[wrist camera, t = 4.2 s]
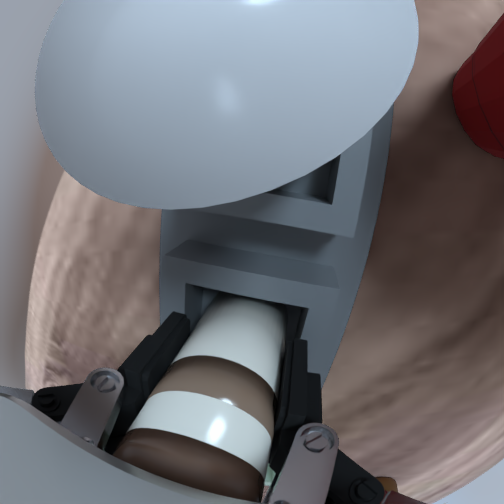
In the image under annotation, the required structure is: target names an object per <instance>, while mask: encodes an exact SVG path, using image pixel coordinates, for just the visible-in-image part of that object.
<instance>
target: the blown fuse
mask: <svg viewBox="0 0 504 504" xmlns="http://www.w3.org/2000/svg"><path fill="white" fill-rule="evenodd" d="M287 324H288V314H287V310H286V307H285V305H284V303H278V302H273V301H268V300H263V299H258V298H253V297H248V296H243V295H238V294H233V293H229V292H224V291H219V292H218V293H217V295H216V296H215V298H214V299H213V301H212V302H211V304H210V305H209V307H208V308H207V310H206V311H205V313H204V314H203V316H202V317H201V319H200V320H199V322H198V323H197V325H196V326H195V328H194V330H193V331H192V333H191V334H190V336H189V337H188V339H187V340H186V342H185V343H184V345H183V346H182V348H181V349H180V351H179V352H178V354H177V356H176V357H175V359H174V360H173V362H172V363H171V365H170V366H169V367H168V368H167V370H166V371H165V373H164V374H163V376H162V377H161V379H160V381H159V382H158V384H157V385H156V387H155V388H154V390H153V391H152V393H151V394H150V396H149V397H148V399H147V400H146V402H145V405H144V406H143V408H142V409H141V411H140V413H139V414H138V416H137V417H136V419H135V420H134V422H133V423H132V425H131V427H130V428H129V430H128V431H127V433H126V434H125V436H124V437H123V439H122V441H121V442H120V444H119V445H118V447H117V448H116V450H115V452H114V453H113V455H112V456H114V457H116V458H118V459H120V460H122V461H124V462H127V463H129V464H131V465H133V466H135V467H138V468H140V469H142V470H145V471H147V472H149V473H152V474H154V475H157V476H160V477H162V478H165V479H168V480H170V481H173V482H176V483H179V484H182V485H185V486H189V487H192V488H195V489H199V490H202V491H206V492H210V493H213V494H217V495H222V496H226V497H231V498H235V499H240V500H246V501H251V502H258V503H261V500H262V494H263V489H264V484H265V479H266V473H267V468H268V462H269V456H270V450H271V447H272V443H273V436H274V425H275V418H276V412H277V405H278V395H279V388H280V381H281V373H282V365H283V358H284V351H285V342H286V333H287Z"/></svg>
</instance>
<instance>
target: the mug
mask: <svg viewBox="0 0 504 504" xmlns="http://www.w3.org/2000/svg"><path fill="white" fill-rule="evenodd" d="M376 479H378V480H379V481H380V482H381V483H382V485H383V487H384V490H386V491H388V492H390V491H391V490H393V491H395V492H397V493H398V489H397V484H396V481H395V480H394V479H392V478H389V477H376Z"/></svg>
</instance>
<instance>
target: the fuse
mask: <svg viewBox="0 0 504 504" xmlns="http://www.w3.org/2000/svg"><path fill="white" fill-rule="evenodd" d="M417 46H418V17H417V12H416V7H415V3H414V0H64V1H63V3H62V4H61V5H60V7H59V9H58V11H57V12H56V14H55V16H54V18H53V20H52V22H51V24H50V26H49V29H48V31H47V33H46V36H45V38H44V41H43V45H42V48H41V51H40V55H39V59H38V65H37V70H36V79H35V101H36V111H37V116H38V121H39V125H40V128H41V131H42V134H43V136H44V139H45V141H46V143H47V145H48V147H49V149H50V150H51V152H52V154H53V156H54V157H55V159H56V160H57V161H58V162H59V163H60V165H61V166H62V167H63V168H64V170H65V171H66V172H67V173H68V174H70V175H71V176H72V177H73V178H74V179H75V180H76V181H78V182H79V183H80V184H82V185H83V186H85V187H87V188H88V189H90V190H92V191H93V192H95V193H96V194H98V195H101V196H104V197H106V198H109V199H111V200H114V201H116V202H119V203H124V204H128V205H133V206H137V207H142V208H154V209H169V210H174V209H189V208H203V207H208V206H213V205H219V204H224V203H229V202H235V201H238V200H242V199H245V198H248V197H251V196H254V195H257V194H261V193H264V192H267V191H271V190H273V189H275V188H277V187H280V186H282V185H284V184H286V183H289V182H291V181H293V180H295V179H298V178H300V177H302V176H305V175H307V174H308V173H310V172H312V171H313V170H315V169H317V168H318V167H320V166H322V165H323V164H325V163H327V162H329V161H330V160H332V159H334V158H335V157H337V156H338V155H340V154H341V153H342V152H344V151H345V150H346V149H347V148H349V147H350V146H351V145H353V144H354V143H355V142H356V141H358V140H359V139H360V138H362V137H363V136H364V135H365V134H366V133H367V132H368V131H369V130H370V129H371V128H372V127H373V126H374V125H375V124H376V123H377V122H378V121H379V120H380V119H381V118H382V117H383V116H384V115H385V114H386V113H387V111H388V110H389V108H390V107H391V105H392V104H393V102H394V101H395V100H396V98H397V97H398V95H399V94H400V92H401V91H402V89H403V87H404V85H405V83H406V81H407V79H408V76H409V74H410V72H411V69H412V67H413V64H414V60H415V55H416V51H417Z"/></svg>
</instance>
